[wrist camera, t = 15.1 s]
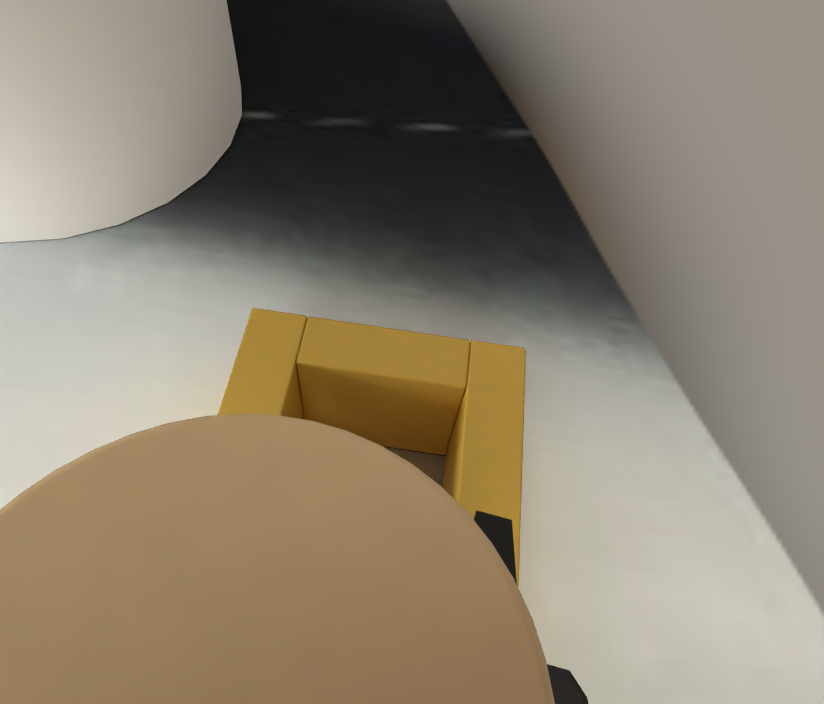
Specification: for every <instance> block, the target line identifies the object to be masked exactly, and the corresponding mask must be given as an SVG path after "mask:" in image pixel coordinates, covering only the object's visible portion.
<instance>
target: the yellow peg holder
mask: <svg viewBox="0 0 824 704" xmlns="http://www.w3.org/2000/svg"><path fill="white" fill-rule="evenodd" d="M525 365H526V350H525V348H521V347H514V346H507V345H500V344H494V343H487V342H480V341H471V343H470V341H469V340H465V339H459V338H452V337H445V336H438V335H431V334H425V333H418V332H411V331H404V330H397V329H390V328H384V327H377V326H370V325H363V324H356V323H350V322H343V321H336V320H329V319H322V318H315V317H308V319H307V316H304V315H297V314H291V313H284V312H277V311H270V310H263V309H257V308H253V309H252V310H251V313H250V317H249V320H248V323H247V326H246V329H245V332H244V335H243V338H242V341H241V344H240V347H239V350H238V354H237V357H236V360H235V363H234V366H233V369H232V372H231V375H230V378H229V381H228V384H227V387H226V391H225V394H224V397H223V400H222V403H221V406H220V409H219V412H218V415H231V414H261V415H280V416H286V417H292V418H298V419H304V420H310V421H315V422H319V423H322V424H325V425H329V426H332V427H336V428H339V429H342V430H346V431H349V432H351V433H353V434H356V435H358V436H360V437H363V438H365V439H367V440H369V441H372V442H374V443H376V444H379V445H381V446H386V447H393V448H399V449H406V450H413V451H420V452H427V453H433V454H440V455H445V454H446V460H445V470H444V479H443V488H444V489H445V490H446V491H447V492H448V493H449V494H450V495H451V496H452V497H453V498H454V499H455V500H456V501H457V502H458V503H459V504H460V505H461V506H462V507H463V508H464V509H465V510H466V511H467V512H468V513H469V515H470V516H471V517H472V518H473V520H474V517H475V513H476V510H477V511H481V512H485V513H488V514H492V515H496V516H500V517H503V518H507V519H511V520H512V526H513V540H514V553H515V566H516V580H517V587H518V582H519V551H520V520H521V489H522V458H523V427H524V396H525Z"/></svg>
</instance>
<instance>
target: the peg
mask: <svg viewBox="0 0 824 704" xmlns="http://www.w3.org/2000/svg"><path fill="white" fill-rule="evenodd" d="M0 704H555V701H554V697H553V692H552V687H551V682H550V677H549V672H548V668H547V663H546V660H545V656H544V653H543V650H542V647H541V644H540V641H539V638H538V635H537V632H536V629H535V626H534V623H533V620H532V617H531V615H530V613H529V611H528V609H527V606H526V604H525V602H524V600H523V598H522V595H521V593H520V591H519V589H518V587H517V585H516V582H515V580H514V578H513V577H512V575H511V573H510V572H509V570H508V568H507V567H506V565H505V564H504V562H503V560H502V559H501V557H500V555H499V554H498V552H497V550H496V549H495V547H494V545H493V544H492V543H491V541H490V540H489V539H488V537H487V536H486V535H485V534H484V532H483V531H482V530H481V529H480V527H479V526H478V525H477V524H476V522H475V521H474V520H473V518H472V517H471V516H470V515H469V513H468V512H467V511H466V510H465V509H464V508H463V507H462V506H461V505H460V504H459V503H458V502H457V501H456V500H455V499H454V498H453V497H452V496H451V495H450V494H449V493H448V492H447V491H446V490H445V489H444V488H442V487H441V486H440V485H439V484H438V483H436V482H435V481H434V480H432V479H431V478H430V477H429V476H427V475H426V474H425V473H423V472H422V471H421V470H420V469H418V468H417V467H416V466H414V465H413V464H412V463H410V462H408V461H406V460H405V459H403V458H401V457H400V456H398V455H396V454H395V453H393V452H391V451H390V450H388V449H386V448H384V447H383V446H381V445H379V444H376V443H374V442H372V441H369V440H367V439H365V438H363V437H360V436H358V435H356V434H353V433H351V432H349V431H346V430H342V429H339V428H336V427H332V426H329V425H325V424H322V423H319V422H315V421H310V420H304V419H298V418H292V417H286V416H280V415H261V414H231V415H217V416H205V417H199V418H194V419H188V420H183V421H177V422H172V423H167V424H164V425H161V426H157V427H154V428H150V429H147V430H144V431H140V432H137V433H133V434H131V435H128V436H126V437H123V438H121V439H118V440H116V441H114V442H111V443H109V444H106V445H104V446H101V447H99V448H97V449H94V450H92V451H90V452H88V453H87V454H85V455H83V456H81V457H79V458H77V459H75V460H74V461H72V462H70V463H68V464H66V465H64V466H62V467H60V468H59V469H57V470H55V471H54V472H52V473H51V474H49V475H48V476H46V477H45V478H43V479H42V480H40V481H39V482H37V483H36V484H34V485H33V486H31V487H30V488H28V489H27V490H25V491H24V492H22V493H21V494H19V495H18V496H17V497H16V498H14V499H13V500H12V501H11V502H9V503H8V504H7V505H6V506H5V507H3V508H2V509H1V510H0Z"/></svg>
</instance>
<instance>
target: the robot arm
mask: <svg viewBox="0 0 824 704" xmlns="http://www.w3.org/2000/svg"><path fill="white" fill-rule="evenodd" d="M474 521H475V522H476V524H477V525H478V526H479V527H480V529H481V530H482V531H483V532H484V534H485V535H486V536H487V537H488V539H489V540H490V541H491V543H492V544H493V545H494V547H495V549H496V550H497V552H498V554H499V555H500V557H501V559H502V560H503V562H504V564H505V565H506V567H507V568H508V570H509V572H510V573H511V575H512V577H513V578H514V580H515V582H516V585H517V580H516V566H515V553H514V540H513V526H512V520H511V519H507V518H503V517H500V516H496V515H492V514H488V513H485V512H481V511H477V510H476V513H475V517H474ZM547 668H548V672H549V677H550V682H551V687H552V692H553V697H554V701H555V704H588V699H587V697H586V695H585V694H584V692H583V691H582V689H581V688H580V686H579V684H578V683H577V681H576V680H575V678H574V677H573V675H572V674H571V672H570V671H569V670H565V669H562V668H558V667H555V666H551V665H548V664H547Z"/></svg>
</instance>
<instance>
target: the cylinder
mask: <svg viewBox="0 0 824 704" xmlns="http://www.w3.org/2000/svg"><path fill="white" fill-rule="evenodd" d="M241 116H242V101H241V83H240V78H239V72H238V66H237V60H236V54H235V48H234V42H233V36H232V30H231V24H230V19H229V13H228V7H227V1H226V0H0V242H18V241H33V240H48V239H63V238H67V237H71V236H75V235H79V234H83V233H87V232H91V231H95V230H99V229H103V228H107V227H111V226H115V225H119V224H121V223H124V222H126V221H128V220H130V219H133V218H135V217H137V216H139V215H142V214H144V213H146V212H148V211H150V210H153V209H155V208H157V207H159V206H162V205H164V204H166V203H168V202H169V201H171V200H172V199H174V198H175V197H176V196H178V195H179V194H180V193H182V192H183V191H185V190H186V189H187V188H189V187H190V186H192V185H193V184H194V183H196V182H197V181H198V180H200V179H201V178H203V177H204V176H205V175H206V174H207V173H208V172H209V171H210V169H211V168H212V167H213V166H214V165H215V163H216V162H217V161H218V160H219V158H220V157H221V156H222V155H223V154H224V152H225V151H226V150H227V149H228V148H229V146H230V145H231V142H232V140H233V137H234V135H235V132H236V129H237V127H238V124H239V121H240V119H241Z"/></svg>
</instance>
